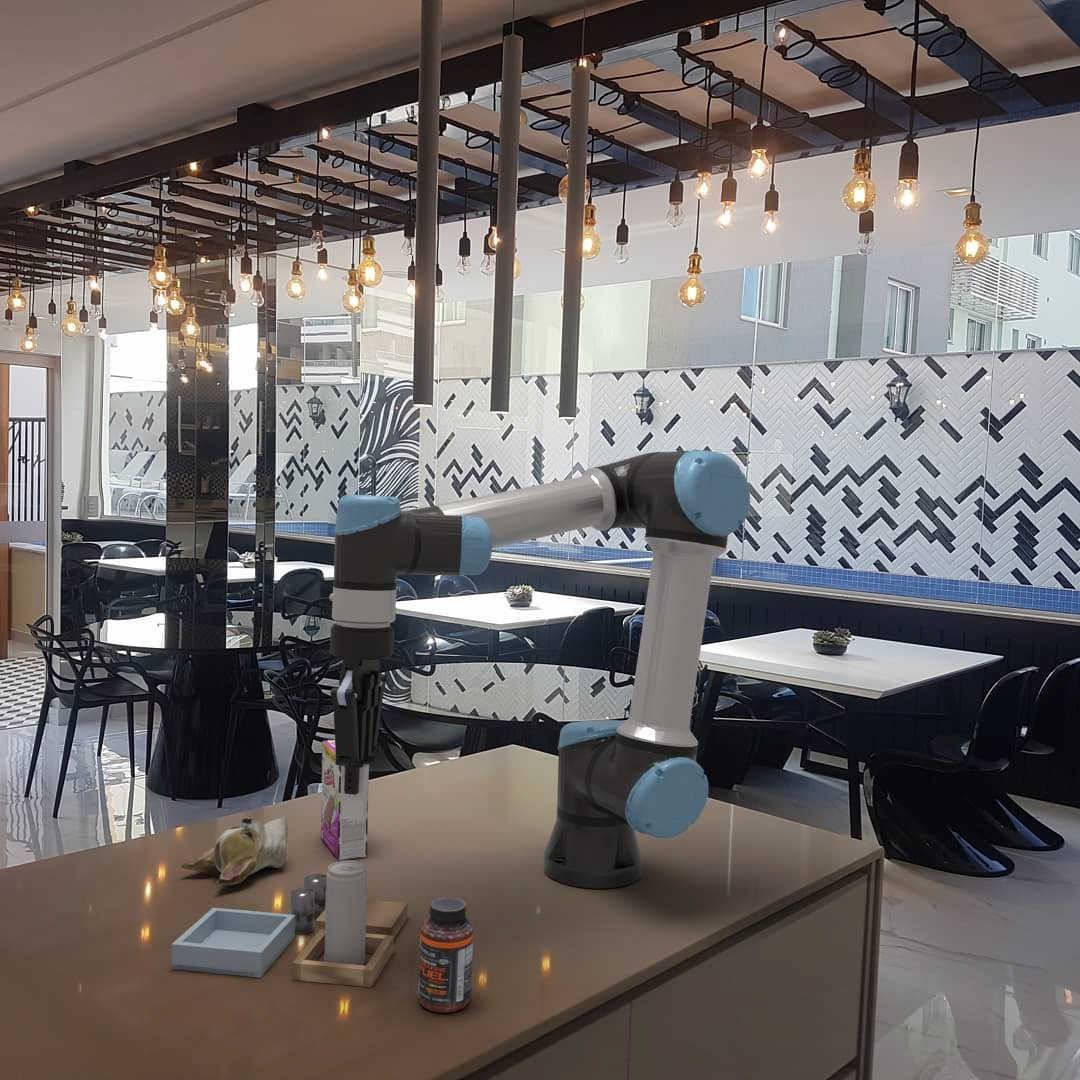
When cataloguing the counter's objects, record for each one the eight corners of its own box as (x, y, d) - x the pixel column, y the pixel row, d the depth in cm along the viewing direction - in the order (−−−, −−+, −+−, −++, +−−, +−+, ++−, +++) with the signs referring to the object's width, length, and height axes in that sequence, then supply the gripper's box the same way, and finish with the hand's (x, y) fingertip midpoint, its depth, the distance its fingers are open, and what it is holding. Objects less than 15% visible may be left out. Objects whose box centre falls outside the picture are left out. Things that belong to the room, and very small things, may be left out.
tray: (294, 938, 131) (295, 914, 131) (260, 977, 120) (261, 952, 120) (212, 930, 133) (213, 907, 132) (171, 969, 122) (171, 944, 122)
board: (406, 921, 139) (407, 903, 139) (390, 946, 131) (391, 927, 131) (335, 914, 140) (335, 896, 140) (314, 939, 132) (315, 920, 132)
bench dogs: (329, 911, 140) (330, 874, 140) (308, 935, 132) (309, 897, 132) (308, 909, 140) (309, 873, 140) (286, 933, 132) (287, 895, 132)
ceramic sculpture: (306, 813, 154) (217, 842, 142) (308, 869, 155) (220, 903, 143) (264, 798, 161) (176, 825, 149) (267, 852, 161) (179, 883, 150)
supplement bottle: (407, 1007, 115) (410, 907, 114) (434, 985, 120) (437, 889, 120) (455, 1020, 112) (458, 917, 112) (480, 996, 118) (483, 898, 117)
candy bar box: (318, 839, 168) (321, 740, 168) (348, 836, 171) (351, 737, 170) (336, 862, 158) (339, 756, 158) (368, 858, 161) (371, 754, 160)
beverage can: (355, 976, 121) (358, 876, 121) (317, 971, 122) (320, 872, 122) (370, 959, 126) (373, 862, 126) (333, 954, 127) (336, 858, 126)
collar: (393, 951, 128) (393, 935, 128) (371, 987, 119) (371, 970, 119) (319, 944, 129) (320, 929, 129) (292, 979, 120) (292, 962, 120)
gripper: (352, 616, 131) (344, 800, 132) (311, 626, 118) (302, 830, 119) (409, 620, 129) (400, 806, 130) (374, 631, 117) (364, 838, 117)
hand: (353, 817), depth 124 cm, fingers closed
